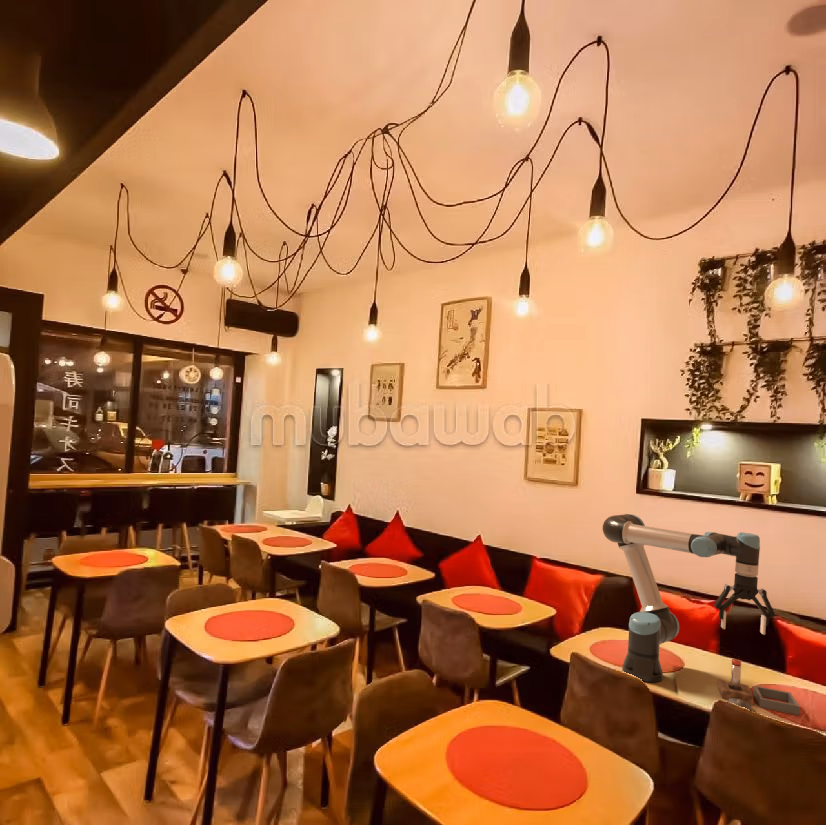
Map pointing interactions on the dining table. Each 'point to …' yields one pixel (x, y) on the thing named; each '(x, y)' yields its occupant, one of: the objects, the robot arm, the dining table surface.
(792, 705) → the tray
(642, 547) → the robot arm
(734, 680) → the lock pin
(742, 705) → the tensioner block
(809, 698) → the dining table surface
